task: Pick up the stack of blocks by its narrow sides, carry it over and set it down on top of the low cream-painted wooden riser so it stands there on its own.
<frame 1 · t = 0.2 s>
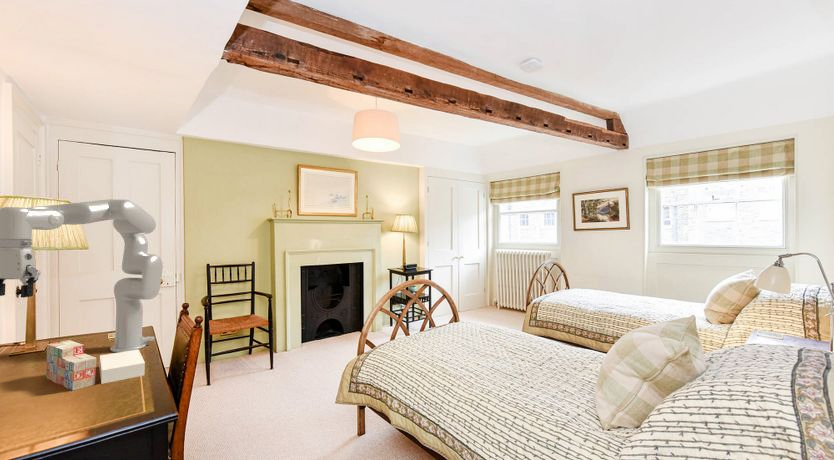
hand: (12, 296, 119), 31 cm above the table, tool pointing down, fingers open, 9 cm apart
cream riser: (121, 372, 137), on the table
stack of blocks: (70, 382, 127), on the table
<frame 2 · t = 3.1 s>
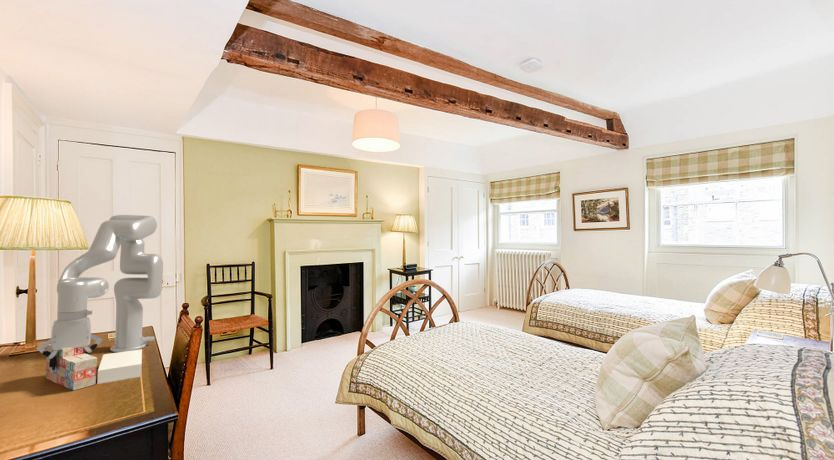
hand: (70, 365, 127), 5 cm above the table, tool pointing down, fingers closed on stack of blocks, 7 cm apart
stack of blocks: (70, 382, 127), on the table, touching gripper
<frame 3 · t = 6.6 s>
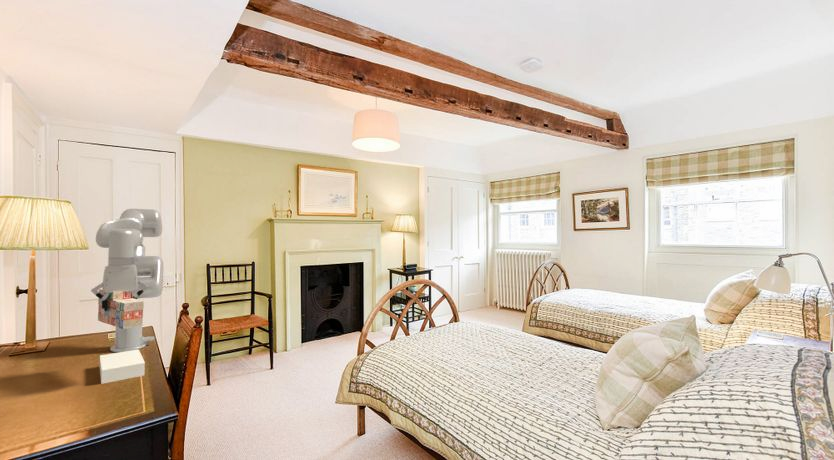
hand: (119, 308, 136), 24 cm above the table, tool pointing down, fingers closed on stack of blocks, 7 cm apart
stack of blocks: (119, 323, 136), point 18 cm above the table, touching gripper
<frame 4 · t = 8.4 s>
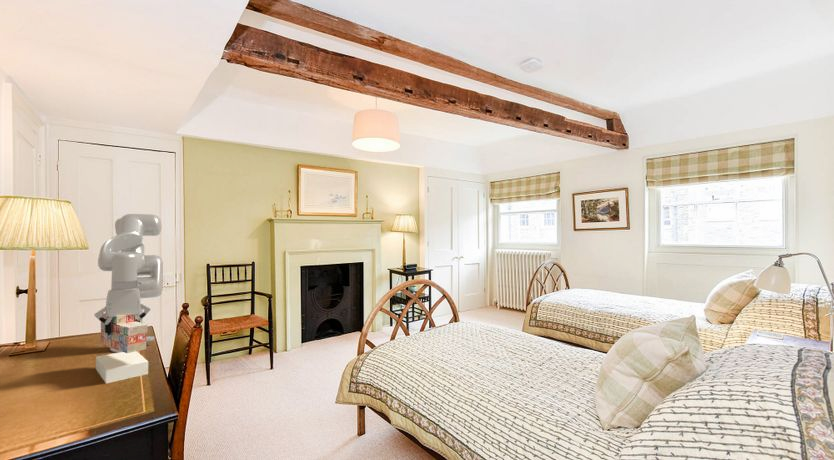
hand: (122, 332, 137), 15 cm above the table, tool pointing down, fingers closed on stack of blocks, 7 cm apart
stack of blocks: (122, 347, 136), point 9 cm above the table, touching gripper
when the fingers open (11 cm above the table, at t = 10.1 s): stack of blocks drops 1 cm, point 4 cm above the table.
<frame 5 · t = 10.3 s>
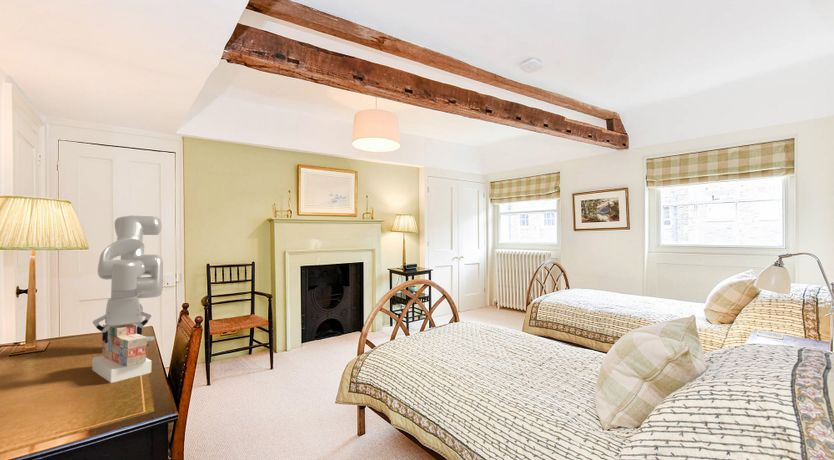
hand: (122, 339, 137), 12 cm above the table, tool pointing down, fingers open, 9 cm apart
stack of blocks: (123, 359, 137), point 4 cm above the table
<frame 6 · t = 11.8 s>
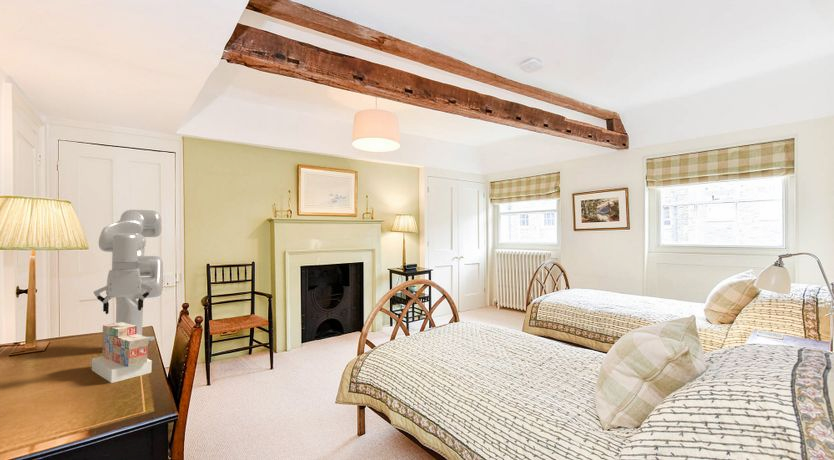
hand: (123, 311, 137), 22 cm above the table, tool pointing down, fingers open, 9 cm apart
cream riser: (121, 372, 137), on the table, touching stack of blocks
stack of blocks: (124, 360, 137), point 4 cm above the table, touching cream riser
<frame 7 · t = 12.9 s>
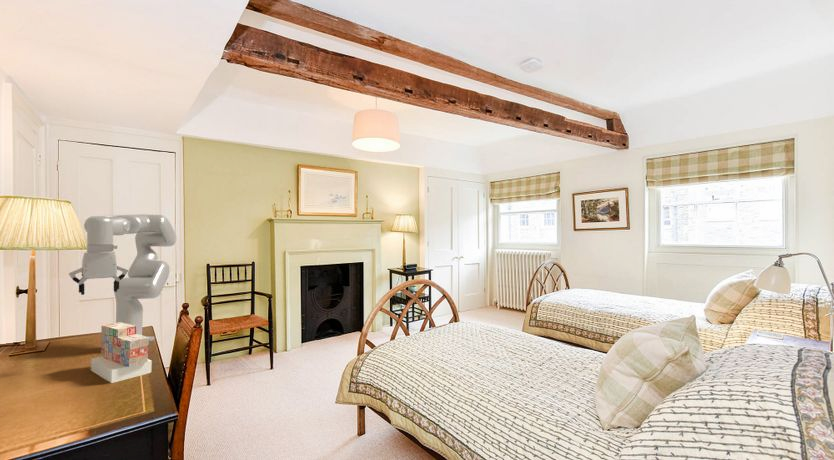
hand: (99, 292, 141), 29 cm above the table, tool pointing down, fingers open, 9 cm apart
nothing on the table moved.
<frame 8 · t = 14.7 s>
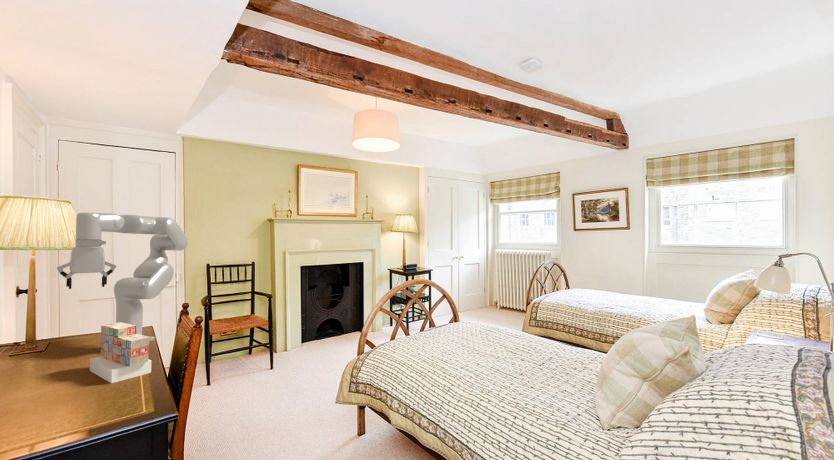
hand: (86, 287, 142), 30 cm above the table, tool pointing down, fingers open, 9 cm apart
nothing on the table moved.
at the end: stack of blocks inside the target area on the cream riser (1.0 cm from its centre), point 4.8 cm above the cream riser's base; stack of blocks tilted 0°; the gripper is holding nothing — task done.
